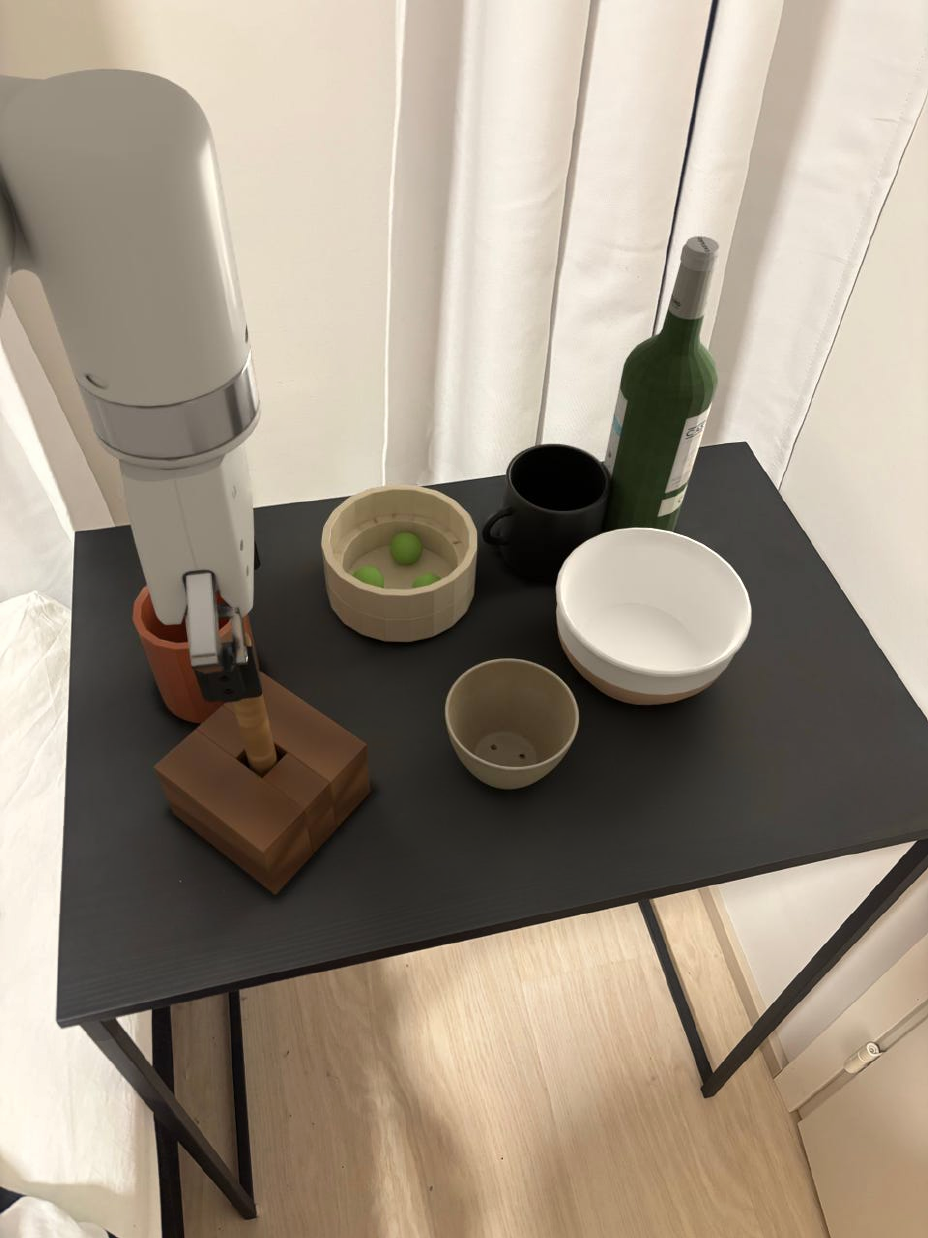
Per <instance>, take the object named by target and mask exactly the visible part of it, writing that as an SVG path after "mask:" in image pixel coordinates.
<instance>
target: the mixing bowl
mask: <svg viewBox="0 0 928 1238" xmlns="http://www.w3.org/2000/svg"><path fill="white" fill-rule="evenodd" d="M402 532H410V533H413V534H414V535H416V536H417V537H418V538H419V539H420V541H421V544H422V553H421V556H420V557H419V559H418V560H417V561H415V562H414V563H412V564H401V563H398V562H397V561H395V560H394V558H393V557H392V555H391V553H390V544H391V541H392V539H393V538H394V537H395V536H396V535H397V534H399V533H402ZM320 546H321V547H320V548H321V554H322V555H321V556H322V564H323V572H324V581H325V589H326V594H327V597H328V600H329V601H328V602H329V605H330V608H331V609H332V610H333V611H334V613H335V614H336V616H337V617H338V618H339V619H340V620H341V622H342V623H343V624H344V625H346V626H347V627H349V628H351V629H352V630H354V631H355V632H357V633H359V634H360V635H362V636H364V637H369V638H372V639H376V640H378V641H383V642H396V643H412V642H415V641H420V640H425V639H429V638H432V637H435V636H438V635H439V634H441V633H442V632H444V631H446V630H448V629H450V628H452V627H453V626H454V625H455V624H456V623H458V621H459V620H460V619H461V618H462V617H463V616H464V615H465V614H466V613H467V612H468V610H469V607H470V605H471V603H472V601H473V598H474V597H475V584H476V569H477V558H478V557H477V555H478V529H477V528H476V526H475V523H474V521H473V519H472V516H471V515H470V514H469V512H468V511H466V509H464V508H463V507H462V505H461V504H459V502H457V501H456V500H454V499H453V498H451V497H449V496H448V495H446V494H444V493H442V492H440V491H437V490H435V489H431V488H428V487H422V486H420V485H414V484H388V485H382V486H376V487H371V488H367V489H365V490H363V491H361V492H359V493H355V494H354V495H351V496H349V497H348V498H347V499H345V500H344V501H342V502H341V503H340V504H339V505H338V506H337V507H335V508H334V510H333V511H331V514H330V515H329V517H328V518H327V520H326V522H325V524H324V525H323V529H322V535H321V541H320ZM362 567H373V568H375V569H377V570H378V571H379V572H380V573H381V575H382V576H383V579H384V587H383V588H380V587H376V586H373V585H369V584H365V583H363V582H361V581H359V580H358V579H356V578H354V577H353V576H352V575H353V574H354V572H355V571H356V570H358V569H359V568H362ZM426 573H431V574H435V575H437V576H438V577H440V578H441V580H439V581H437V582H435V583H433V584H431V585H428V586H423V587H418V588H414V589H412V585H413V583H414V581H415V580H416V578H417V577H419V576H420V575H422V574H426Z"/></svg>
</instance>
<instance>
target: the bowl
mask: <svg viewBox="0 0 928 1238" xmlns="http://www.w3.org/2000/svg"><path fill="white" fill-rule="evenodd" d="M555 594H556V603H557V604H556V610H555V614H556V625H557V635H558V639H559V642H560V645H561V649H562V650H563V651H564V653H565V655H566V656H567V659H568V660H569V662H570V663H571V665H572V666H573V668H575V670H576V671H577V672H578V673H579V674H580V675H581V676H582V678H583V679H584V680H586V681H587V682H589V683H590V684H591V685H592V686H593V687H595V688H596V689H597V690H599V691H600V692H601V693H603V694H604V695H606V696H608V697H610V698H612V699H614V700H617V701H620V702H623V703H627V704H631V705H638V706H639V705H640V706H651V705H664V704H670V703H675V702H678V701H682V700H684V699H685V700H686V699H687V698H690V697H693V696H696V695H698V694H699V693H701V692H702V691H704V690H706V689H707V688H709V687H710V686H711V685H712V684H713V683H714V682H715V681H717V679H719V678H720V676H721V675H722V673H723V672H724V671H725V670H726V669H727V667H728V666H729V664H730V663H731V661H732V660H733V658H734V655H735V654H736V653H737V652H738V651H739V650H740V649H741V647H742V646H743V644H744V643H745V641H746V639H747V637H748V635H749V632H750V628H751V626H752V605H751V601H750V596H749V593H748V590H747V589H746V587H745V585H744V583H743V581H742V579H741V577H740V576H739V575H738V573H737V572H736V571H735V570H734V568H733V567H732V566H731V564H729V563H728V562H727V561H726V560H725V559H724V558H723V557H722V556H720V555H719V554H718V553H717V552H715V551H714V550H713V549H711V548H709V547H707V546H706V545H705V544H703V543H701V542H700V541H697V540H694V539H692V538H690V537H688V536H686V535H682V534H679V533H676V532H670V531H664V530H658V529H653V528H627V529H618V530H614V531H610V532H606V533H602V534H600V535H598V536H596V537H593V538H591V539H589V540H587V541H586V542H584V543H583V544H582V545H580V546H579V547H578V548H576V549H575V550H574V551H573V552H572V553H571V554H570V556H569V557H568V558H567V559H566V560H565V562H564V564H563V566H562V568H561V570H560V572H559V574H558V579H557V581H556V585H555Z"/></svg>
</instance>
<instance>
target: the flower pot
mask: <svg viewBox="0 0 928 1238" xmlns="http://www.w3.org/2000/svg"><path fill="white" fill-rule="evenodd" d="M579 712H580V711H579V706H578V704H577V701H576V698H575V695H574V694H573V692H572V691H571V689H570V688H569V686H568V685H567V684H566V683H565V682H564V681H563V679H561V677H559V676H558V675H557V674H556V673H554V672H553V671H552V670H550V669H549V668H547V667H545V666H543V665H540V664H538V663H536V662H532V661H529V660H525V659H517V658H497V659H492V660H487V661H484V662H481V663H478V664H476V665H474V666H473V667H471V668H469V669H467V670H466V671H464V673H462V674H461V675H460V676H459V677H458V678H457V679H456V680H455V682H454V683H453V684H452V686H451V688H450V689H449V691H448V693H447V696H446V700H445V705H444V717H445V718H444V719H445V725H446V729H447V733H448V736H449V740H450V742H451V745H452V747H453V749H454V752H455V753H456V755H457V757H458V758H459V760H460V762H461V763H462V764H463V766H465V768H466V769H467V771H469V772H470V773H471V774H472V776H474V778H477V779H478V780H479V781H481V782H482V783H484V784H486V785H488V786H489V787H493V788H495V789H500V790H516V789H520V788H521V789H522V788H525V787H527V786H530V785H532V784H534V783H536V782H538V781H540V780H541V779H542V778H544V777H545V776H546V775H548V774H549V773H550V772H551V771H553V769H555V768H556V767H557V765H558V764H560V762H561V761H562V759H564V757H565V756H566V754H567V753H568V751H569V749H570V748H571V745H572V743H573V742H574V740H575V738H576V735H577V732H578V730H579V729H578V728H579V724H580V723H579V722H580V714H579Z"/></svg>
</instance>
